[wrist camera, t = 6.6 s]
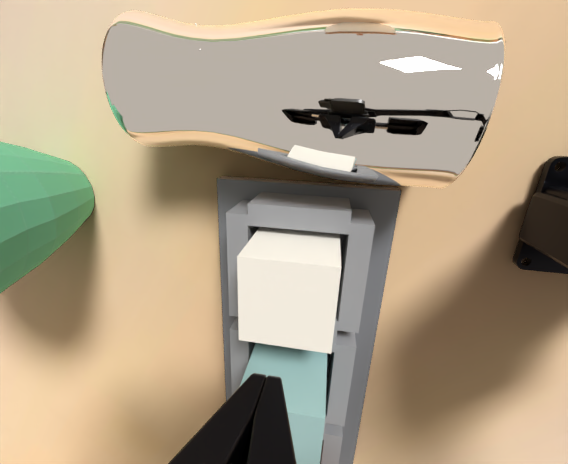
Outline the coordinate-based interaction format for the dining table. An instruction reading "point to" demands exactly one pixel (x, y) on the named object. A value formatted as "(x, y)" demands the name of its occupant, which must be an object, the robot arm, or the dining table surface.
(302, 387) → the key teal
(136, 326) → the dining table surface
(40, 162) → the mug
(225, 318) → the keypad base
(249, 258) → the key ivory
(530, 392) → the dining table surface
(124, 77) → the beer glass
